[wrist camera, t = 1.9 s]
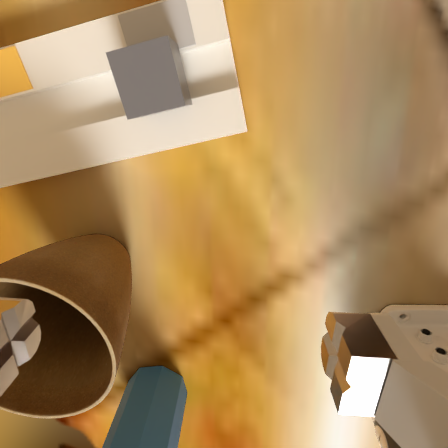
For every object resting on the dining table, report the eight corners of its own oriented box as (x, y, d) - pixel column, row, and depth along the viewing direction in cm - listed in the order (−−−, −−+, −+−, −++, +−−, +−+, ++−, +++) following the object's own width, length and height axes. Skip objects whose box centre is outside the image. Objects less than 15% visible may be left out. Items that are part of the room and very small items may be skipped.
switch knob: (181, 47, 28) (167, 35, 23) (195, 104, 30) (185, 105, 24) (130, 61, 29) (105, 52, 23) (146, 115, 30) (127, 119, 25)
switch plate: (221, -6, 28) (219, -18, 25) (246, 128, 32) (247, 131, 29) (-43, 71, 31) (-73, 68, 28) (12, 182, 36) (-9, 190, 33)
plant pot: (65, 309, 43) (-27, 421, 28) (31, 209, 37) (-108, 284, 22) (170, 305, 41) (131, 420, 27) (150, 201, 36) (88, 274, 21)
